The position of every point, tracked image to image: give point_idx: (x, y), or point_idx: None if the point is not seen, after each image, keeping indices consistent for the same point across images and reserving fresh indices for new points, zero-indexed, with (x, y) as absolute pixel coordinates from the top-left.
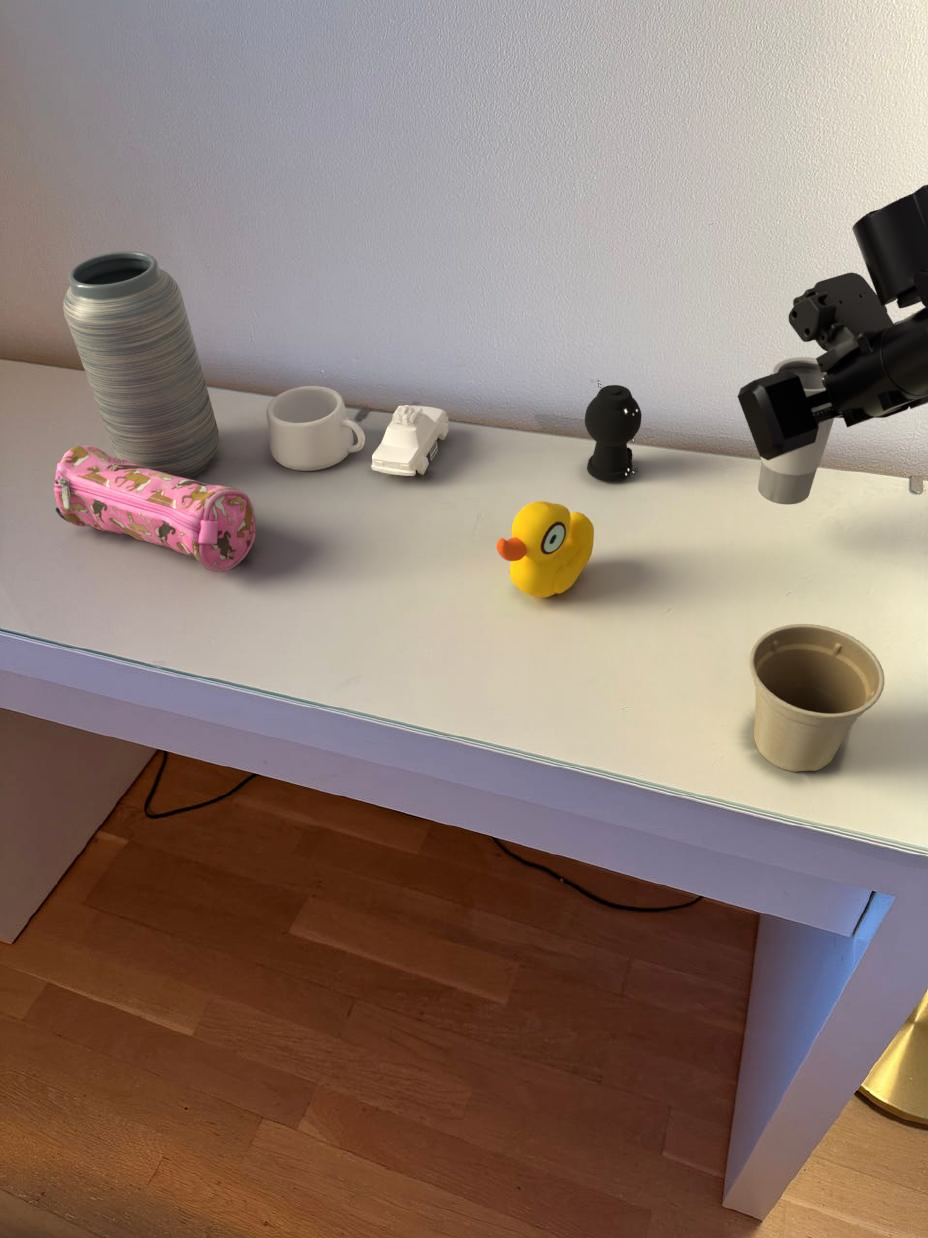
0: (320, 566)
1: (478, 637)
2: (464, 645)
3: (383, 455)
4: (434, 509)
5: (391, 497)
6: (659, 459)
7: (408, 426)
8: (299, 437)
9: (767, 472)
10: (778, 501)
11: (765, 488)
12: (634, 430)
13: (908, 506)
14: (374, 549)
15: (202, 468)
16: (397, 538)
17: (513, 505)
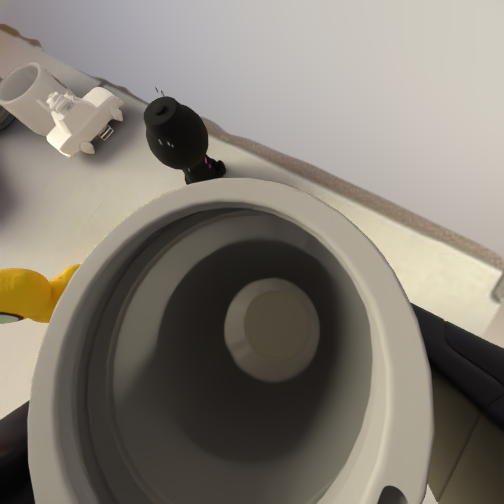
0: (5, 224)
1: (32, 330)
2: (21, 334)
3: (50, 138)
4: (82, 189)
5: (69, 171)
6: (251, 173)
7: (61, 114)
8: (12, 113)
9: (229, 330)
10: (251, 349)
11: (238, 329)
12: (188, 160)
13: (474, 320)
14: (35, 218)
15: (5, 123)
16: (50, 212)
17: (125, 199)
